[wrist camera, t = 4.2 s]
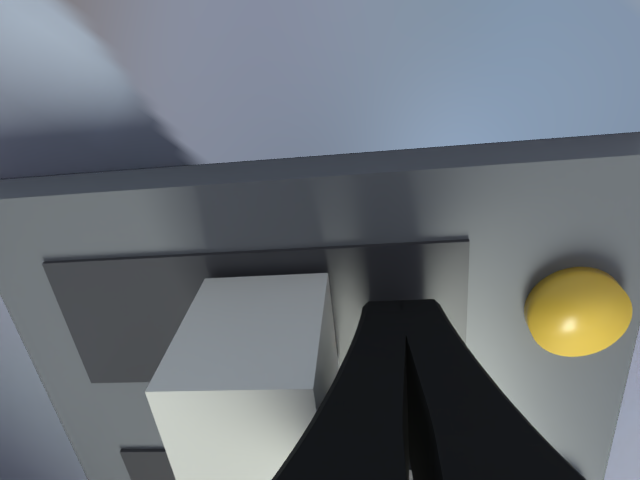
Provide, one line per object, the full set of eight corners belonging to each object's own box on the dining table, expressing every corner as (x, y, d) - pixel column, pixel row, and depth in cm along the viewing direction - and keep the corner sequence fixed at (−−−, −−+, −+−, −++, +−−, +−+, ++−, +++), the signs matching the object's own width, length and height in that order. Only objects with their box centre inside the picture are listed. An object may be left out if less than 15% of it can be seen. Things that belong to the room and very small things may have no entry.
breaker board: (644, 131, 9) (693, 159, 8) (569, 512, 14) (592, 571, 13) (-4, 179, 11) (-59, 210, 9) (135, 507, 16) (113, 559, 14)
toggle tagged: (328, 272, 9) (313, 388, 7) (339, 370, 11) (330, 503, 8) (204, 278, 10) (144, 392, 7) (228, 372, 11) (183, 502, 8)
